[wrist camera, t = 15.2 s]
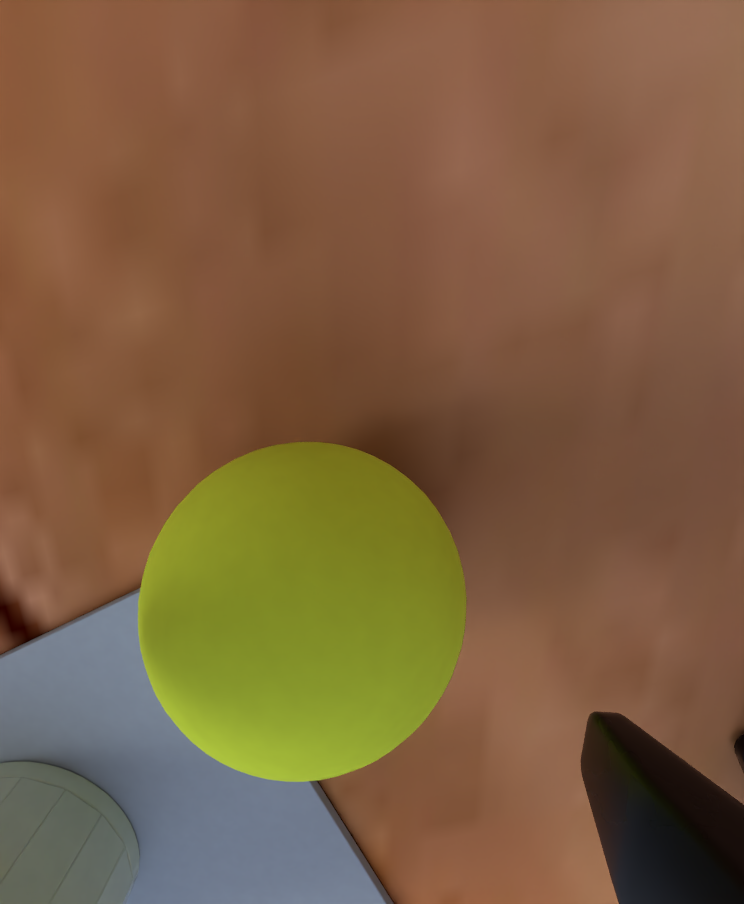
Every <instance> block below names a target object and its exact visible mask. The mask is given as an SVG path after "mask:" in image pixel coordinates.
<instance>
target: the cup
mask: <svg viewBox="0 0 744 904" xmlns="http://www.w3.org/2000/svg"><path fill="white" fill-rule="evenodd" d="M139 858H140V853H139V846H138V841H137V838H136V834H135V831H134V829H133V827H132V825H131V823H130V821H129V819H128V818H127V816H126V815H125V813H124V811H123V810H122V809H121V808H120V807H119V805H118V804H117V803H116V802H115V801H114V800H113V799H112V798H111V797H110V796H109V795H108V794H107V793H106V792H105V791H103V790H102V789H101V788H99V787H98V786H97V785H95V784H94V783H92V782H90V781H89V780H87V779H86V778H84V777H82V776H80V775H78V774H76V773H73V772H71V771H69V770H66V769H63V768H60V767H57V766H53V765H49V764H45V763H38V762H30V761H12V762H2V763H0V904H126V902H127V899H128V897H129V895H130V893H131V891H132V888H133V886H134V884H135V881H136V879H137V875H138V870H139Z"/></svg>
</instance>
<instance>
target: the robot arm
mask: <svg viewBox="0 0 744 904" xmlns="http://www.w3.org/2000/svg"><path fill="white" fill-rule="evenodd" d="M734 748H735V753H736V755H737V758H738V760H739V763H740V765H741V767H742V770H743V772H744V734H743V735H741V736H740V737H739V738H738V739H737V740H736V743H735V746H734ZM581 771H582V777H583V781H584V784H585V788H586V791H587V795H588V798H589V802H590V805H591V809H592V812H593V816H594V820H595V823H596V827H597V830H598V834H599V837H600V841H601V844H602V848H603V851H604V855H605V858H606V862H607V865H608V869H609V872H610V876H611V879H612V883H613V886H614V889H615V892H616V896H617V899H618V902H619V904H744V805H743V804H742V803H740V802H739V801H738V800H736V799H735V798H734V797H732V796H731V795H730V794H728V793H727V792H726V791H724V790H723V789H722V788H720V787H719V786H717V785H716V784H715V783H713V782H712V781H711V780H709V779H708V778H707V777H705V776H704V775H703V774H701V773H700V772H699V771H697V770H696V769H695V768H693V767H692V766H691V765H689V764H688V763H687V762H685V761H684V760H683V759H681V758H680V757H679V756H677V755H676V754H675V753H673V752H672V751H671V750H669V749H668V748H666V747H665V746H664V745H662V744H661V743H660V742H658V741H657V740H656V739H654V738H653V737H652V736H650V735H649V734H648V733H646V732H645V731H644V730H642V729H641V728H640V727H638V726H637V725H636V724H634V723H633V722H632V721H630V720H629V719H628V718H626V717H625V716H623V715H622V714H619V713H611V712H593V713H591V714H590V716H589V718H588V721H587V727H586V732H585V738H584V744H583V750H582V755H581Z"/></svg>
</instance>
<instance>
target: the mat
mask: <svg viewBox="0 0 744 904" xmlns="http://www.w3.org/2000/svg"><path fill="white" fill-rule="evenodd" d="M139 594H140V588H139V589H137V590H135V591H133V592H130V593H128V594H126V595H124V596H122V597H120V598H118V599H116V600H114V601H112V602H110V603H108V604H106V605H103V606H101V607H99V608H97V609H95V610H93V611H91V612H89V613H87V614H85V615H83V616H81V617H79V618H76V619H74V620H72V621H70V622H68V623H66V624H64V625H62V626H60V627H58V628H56V629H54V630H51V631H49V632H47V633H45V634H43V635H41V636H39V637H37V638H35V639H33V640H31V641H29V642H27V643H24V644H22V645H20V646H18V647H16V648H14V649H12V650H10V651H8V652H6V653H4V654H2V655H0V763H2V762H12V761H30V762H38V763H45V764H49V765H53V766H57V767H60V768H63V769H66V770H69V771H71V772H73V773H76V774H78V775H80V776H82V777H84V778H86V779H87V780H89V781H90V782H92V783H94V784H95V785H97V786H98V787H99V788H101V789H102V790H103V791H105V792H106V793H107V794H108V795H109V796H110V797H111V798H112V799H113V800H114V801H115V802H116V803H117V804H118V805H119V807H120V808H121V809H122V810H123V811H124V813H125V815H126V816H127V818H128V819H129V821H130V823H131V825H132V827H133V829H134V831H135V834H136V838H137V841H138V846H139V853H140V858H139V870H138V875H137V879H136V881H135V884H134V886H133V888H132V891H131V893H130V895H129V897H128V899H127V902H126V904H394V903H393V902H392V900H391V899H390V897H389V895H388V894H387V892H386V891H385V889H384V887H383V886H382V884H381V883H380V881H379V879H378V878H377V876H376V875H375V873H374V871H373V870H372V868H371V867H370V865H369V863H368V862H367V860H366V859H365V857H364V855H363V854H362V852H361V851H360V849H359V847H358V846H357V844H356V843H355V841H354V840H353V838H352V836H351V835H350V833H349V832H348V830H347V828H346V827H345V825H344V824H343V822H342V820H341V819H340V817H339V816H338V814H337V812H336V811H335V809H334V808H333V806H332V804H331V803H330V801H329V800H328V798H327V796H326V795H325V793H324V792H323V790H322V788H321V787H320V785H319V784H318V782H317V780H316V781H306V782H285V781H277V780H269V779H264V778H260V777H256V776H252V775H249V774H246V773H243V772H240V771H237V770H235V769H233V768H231V767H229V766H227V765H224V764H222V763H220V762H219V761H217V760H216V759H214V758H212V757H211V756H209V755H208V754H206V753H205V752H203V751H202V750H201V749H200V748H198V747H197V746H196V745H195V744H193V743H192V742H191V741H190V740H189V739H188V738H187V737H186V736H185V735H184V734H183V733H182V732H181V730H180V729H179V728H178V727H177V726H176V724H175V723H174V722H173V721H172V719H171V718H170V717H169V715H168V714H167V713H166V712H165V710H164V708H163V707H162V705H161V703H160V702H159V700H158V698H157V696H156V695H155V692H154V690H153V687H152V685H151V683H150V680H149V678H148V675H147V672H146V669H145V665H144V661H143V658H142V654H141V650H140V642H139V634H138V600H139Z"/></svg>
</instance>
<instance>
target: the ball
mask: <svg viewBox="0 0 744 904" xmlns="http://www.w3.org/2000/svg"><path fill="white" fill-rule="evenodd" d="M465 621H466V590H465V580H464V574H463V569H462V565H461V561H460V558H459V554H458V550H457V548H456V545H455V543H454V540H453V538H452V536H451V533H450V531H449V529H448V527H447V526H446V524H445V522H444V520H443V519H442V517H441V515H440V514H439V512H438V510H437V509H436V507H435V506H434V505H433V503H432V502H431V501H430V500H429V498H428V497H427V496H426V495H425V493H424V492H423V491H422V490H421V489H420V488H418V487H417V486H416V485H415V484H414V483H413V482H412V481H411V480H410V479H409V478H408V477H406V476H405V475H403V474H402V473H401V472H399V471H398V470H397V469H395V468H394V467H393V466H391V465H389V464H387V463H386V462H384V461H382V460H380V459H378V458H377V457H375V456H372V455H370V454H367V453H365V452H362V451H360V450H357V449H354V448H350V447H346V446H342V445H338V444H331V443H323V442H293V443H286V444H278V445H273V446H269V447H266V448H262V449H258V450H255V451H253V452H250V453H248V454H245V455H243V456H241V457H238V458H236V459H235V460H233V461H231V462H229V463H228V464H226V465H224V466H222V467H221V468H219V469H217V470H216V471H214V472H212V473H211V474H210V475H209V476H207V477H206V478H205V479H204V480H202V481H201V482H200V483H199V484H197V485H196V486H195V488H194V489H193V490H192V491H191V492H190V493H189V494H188V495H187V496H186V497H185V498H184V499H183V500H182V501H181V502H180V503H179V505H178V506H177V507H176V508H175V509H174V511H173V512H172V514H171V515H170V517H169V518H168V519H167V521H166V522H165V524H164V526H163V528H162V530H161V531H160V533H159V535H158V537H157V539H156V541H155V543H154V545H153V547H152V549H151V551H150V554H149V557H148V560H147V563H146V567H145V570H144V574H143V578H142V582H141V588H140V594H139V600H138V634H139V642H140V650H141V654H142V658H143V661H144V665H145V669H146V672H147V675H148V678H149V680H150V683H151V685H152V687H153V690H154V692H155V695H156V696H157V698H158V700H159V702H160V703H161V705H162V707H163V708H164V710H165V712H166V713H167V714H168V715H169V717H170V718H171V719H172V721H173V722H174V723H175V724H176V726H177V727H178V728H179V729H180V730H181V732H182V733H183V734H184V735H185V736H186V737H187V738H188V739H189V740H190V741H191V742H192V743H193V744H195V745H196V746H197V747H198V748H200V749H201V750H202V751H203V752H205V753H206V754H208V755H209V756H211V757H212V758H214V759H216V760H217V761H219V762H220V763H222V764H224V765H227V766H229V767H231V768H233V769H235V770H237V771H240V772H243V773H246V774H249V775H252V776H256V777H260V778H264V779H269V780H277V781H285V782H306V781H316V780H323V779H328V778H332V777H337V776H340V775H343V774H346V773H349V772H351V771H354V770H357V769H360V768H362V767H364V766H366V765H368V764H370V763H372V762H375V761H377V760H378V759H380V758H381V757H383V756H384V755H386V754H388V753H389V752H391V751H392V750H393V749H394V748H396V747H397V746H398V745H399V744H400V743H402V742H403V741H404V740H405V739H406V738H408V737H409V736H410V735H411V734H412V733H413V732H414V731H415V730H416V729H417V728H418V727H419V726H420V725H421V724H422V723H423V722H424V720H425V719H426V718H427V717H428V715H429V714H430V712H431V711H432V709H433V708H434V707H435V705H436V704H437V702H438V701H439V699H440V698H441V696H442V695H443V693H444V691H445V689H446V687H447V685H448V683H449V681H450V679H451V677H452V674H453V671H454V668H455V665H456V662H457V659H458V656H459V653H460V650H461V647H462V642H463V636H464V631H465Z"/></svg>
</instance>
